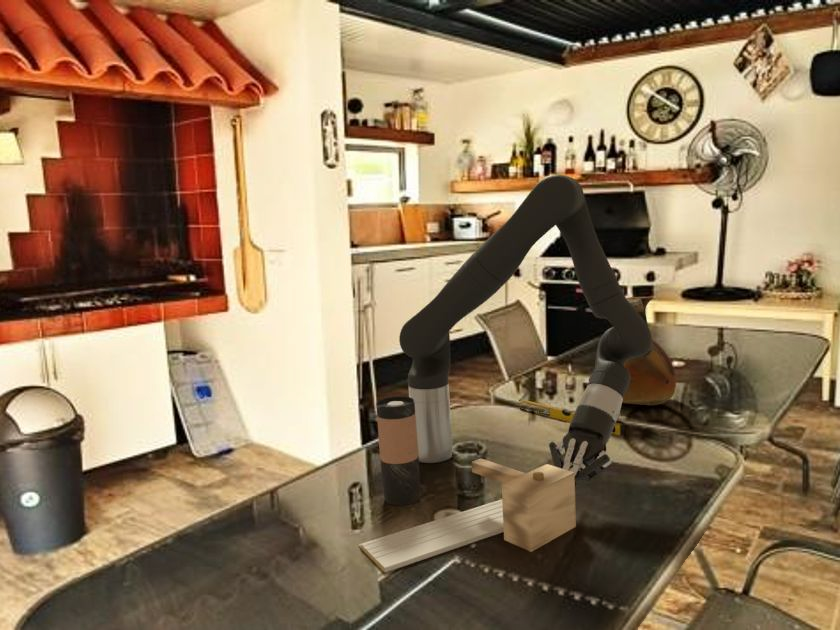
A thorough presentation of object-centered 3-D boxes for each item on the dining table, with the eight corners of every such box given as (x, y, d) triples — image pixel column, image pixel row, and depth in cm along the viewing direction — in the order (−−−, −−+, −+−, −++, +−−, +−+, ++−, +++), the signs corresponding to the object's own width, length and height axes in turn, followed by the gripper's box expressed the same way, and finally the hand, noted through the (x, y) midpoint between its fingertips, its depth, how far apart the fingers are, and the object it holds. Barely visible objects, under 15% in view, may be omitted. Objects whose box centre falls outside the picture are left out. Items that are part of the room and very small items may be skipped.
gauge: (455, 518, 124) (452, 462, 122) (500, 497, 132) (497, 444, 130) (531, 551, 110) (528, 489, 109) (575, 526, 118) (574, 468, 116)
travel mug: (427, 492, 136) (421, 397, 133) (411, 508, 129) (404, 408, 126) (394, 488, 139) (387, 394, 136) (376, 503, 132) (368, 405, 129)
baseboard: (355, 545, 117) (385, 576, 107) (354, 530, 117) (384, 559, 106) (500, 499, 132) (539, 523, 121) (499, 486, 131) (538, 508, 121)
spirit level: (624, 435, 162) (624, 423, 162) (620, 437, 161) (620, 425, 161) (522, 408, 188) (522, 398, 188) (519, 409, 187) (518, 399, 187)
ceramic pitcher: (665, 391, 195) (664, 289, 190) (685, 412, 175) (685, 299, 171) (596, 394, 197) (593, 292, 192) (608, 415, 177) (606, 302, 173)
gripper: (558, 398, 129) (522, 479, 122) (621, 409, 120) (586, 498, 113) (574, 417, 133) (541, 497, 127) (636, 429, 124) (603, 516, 118)
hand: (562, 497), depth 120 cm, fingers closed
